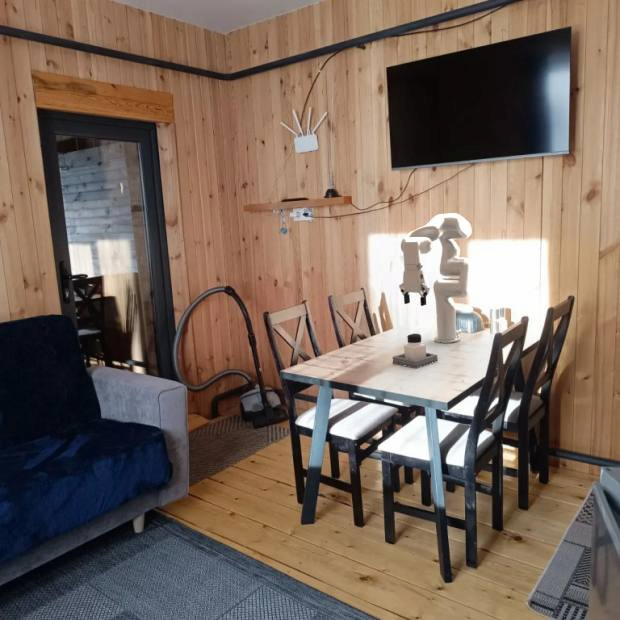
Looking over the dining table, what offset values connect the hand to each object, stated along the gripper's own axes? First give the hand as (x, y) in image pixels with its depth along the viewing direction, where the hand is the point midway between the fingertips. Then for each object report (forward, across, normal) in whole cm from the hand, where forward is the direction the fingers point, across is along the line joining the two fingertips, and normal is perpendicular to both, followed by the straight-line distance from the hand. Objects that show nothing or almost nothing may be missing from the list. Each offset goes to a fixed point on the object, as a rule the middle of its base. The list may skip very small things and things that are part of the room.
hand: (415, 304), depth 266 cm
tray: (+24, -6, +9) cm, 26 cm away
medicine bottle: (+24, -5, +9) cm, 26 cm away
